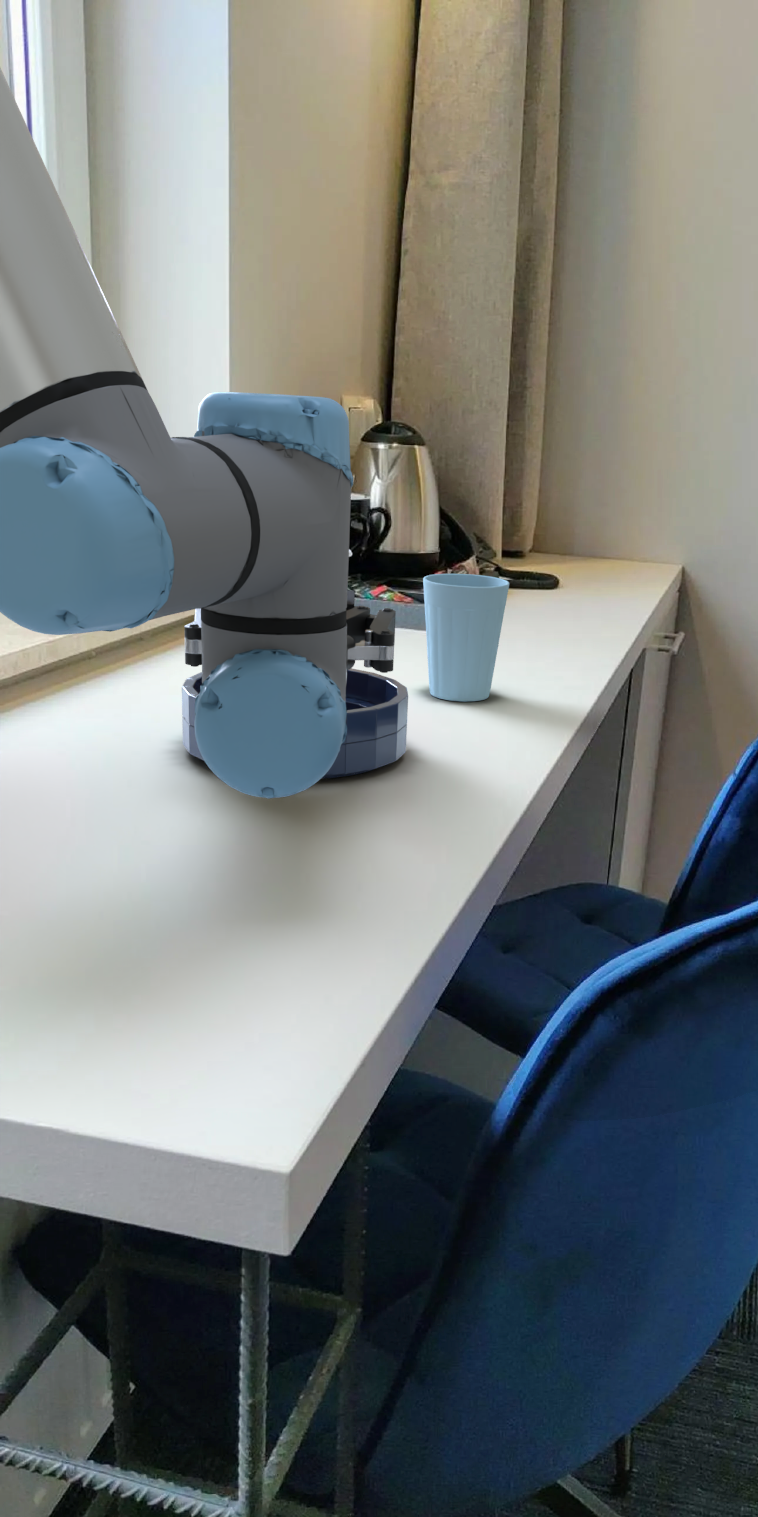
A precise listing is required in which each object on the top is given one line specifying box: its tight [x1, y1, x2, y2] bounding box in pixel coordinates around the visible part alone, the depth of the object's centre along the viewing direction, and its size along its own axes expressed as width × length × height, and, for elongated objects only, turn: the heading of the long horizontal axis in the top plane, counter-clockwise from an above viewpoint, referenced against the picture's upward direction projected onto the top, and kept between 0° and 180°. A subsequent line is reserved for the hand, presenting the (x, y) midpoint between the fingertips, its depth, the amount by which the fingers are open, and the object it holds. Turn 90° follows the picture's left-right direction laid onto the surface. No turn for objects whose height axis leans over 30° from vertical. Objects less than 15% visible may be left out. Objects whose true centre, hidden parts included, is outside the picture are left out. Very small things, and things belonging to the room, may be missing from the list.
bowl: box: [181, 667, 409, 780], centre depth 97 cm, size 17×17×5 cm
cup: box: [422, 573, 510, 702], centre depth 117 cm, size 8×8×10 cm
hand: (300, 606), depth 99 cm, fingers closed on paper cup, 7 cm apart
